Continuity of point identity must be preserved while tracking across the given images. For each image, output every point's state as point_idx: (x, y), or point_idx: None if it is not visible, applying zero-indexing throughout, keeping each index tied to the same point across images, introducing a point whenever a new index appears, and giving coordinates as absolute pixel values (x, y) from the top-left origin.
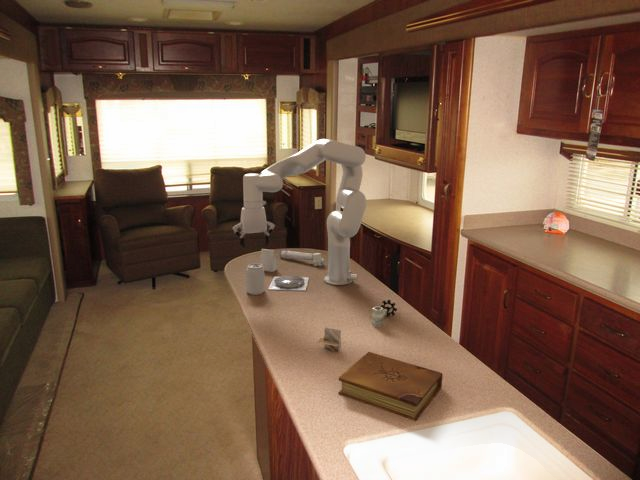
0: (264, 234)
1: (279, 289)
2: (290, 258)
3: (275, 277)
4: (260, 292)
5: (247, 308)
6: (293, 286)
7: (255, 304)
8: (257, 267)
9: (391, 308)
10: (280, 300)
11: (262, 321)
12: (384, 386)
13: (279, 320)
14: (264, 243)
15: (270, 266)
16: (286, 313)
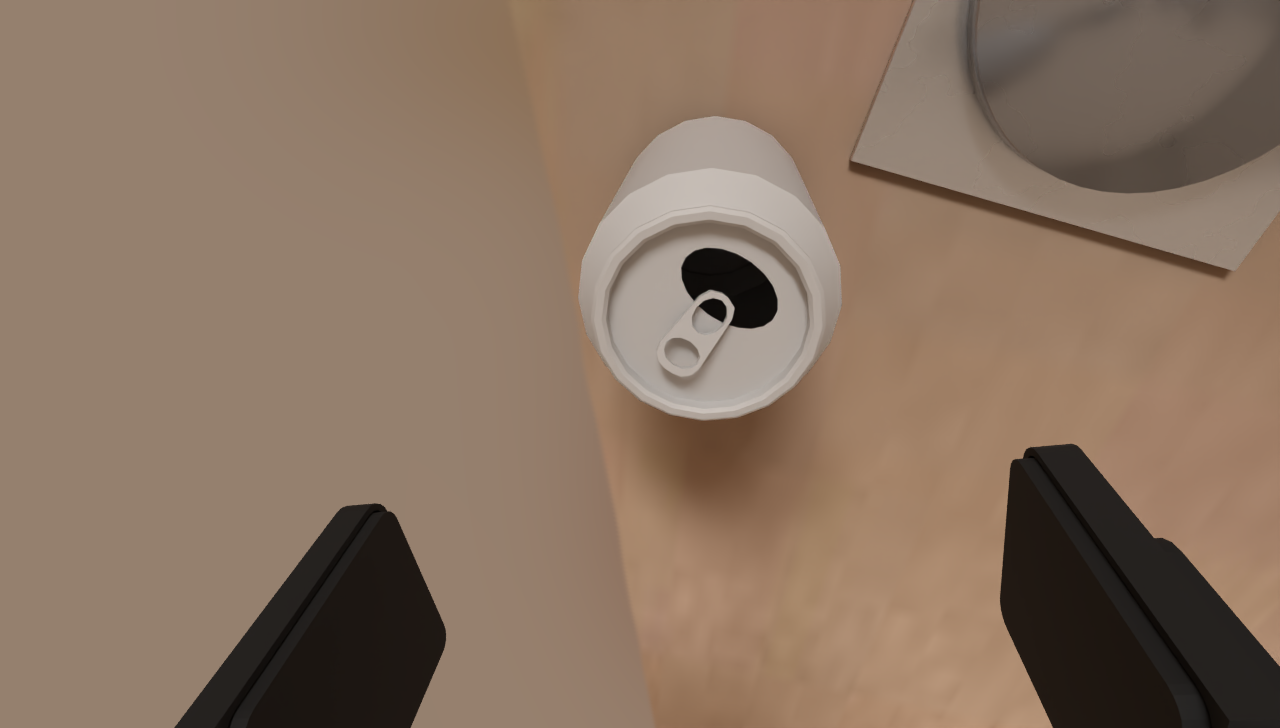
0: (1244, 725)
1: (968, 193)
2: None
3: None
4: (748, 290)
5: (618, 509)
6: (1147, 189)
7: (680, 460)
8: (737, 353)
9: None
10: (893, 431)
11: (698, 678)
12: None
13: (798, 689)
14: (1015, 516)
15: None
16: (868, 626)
